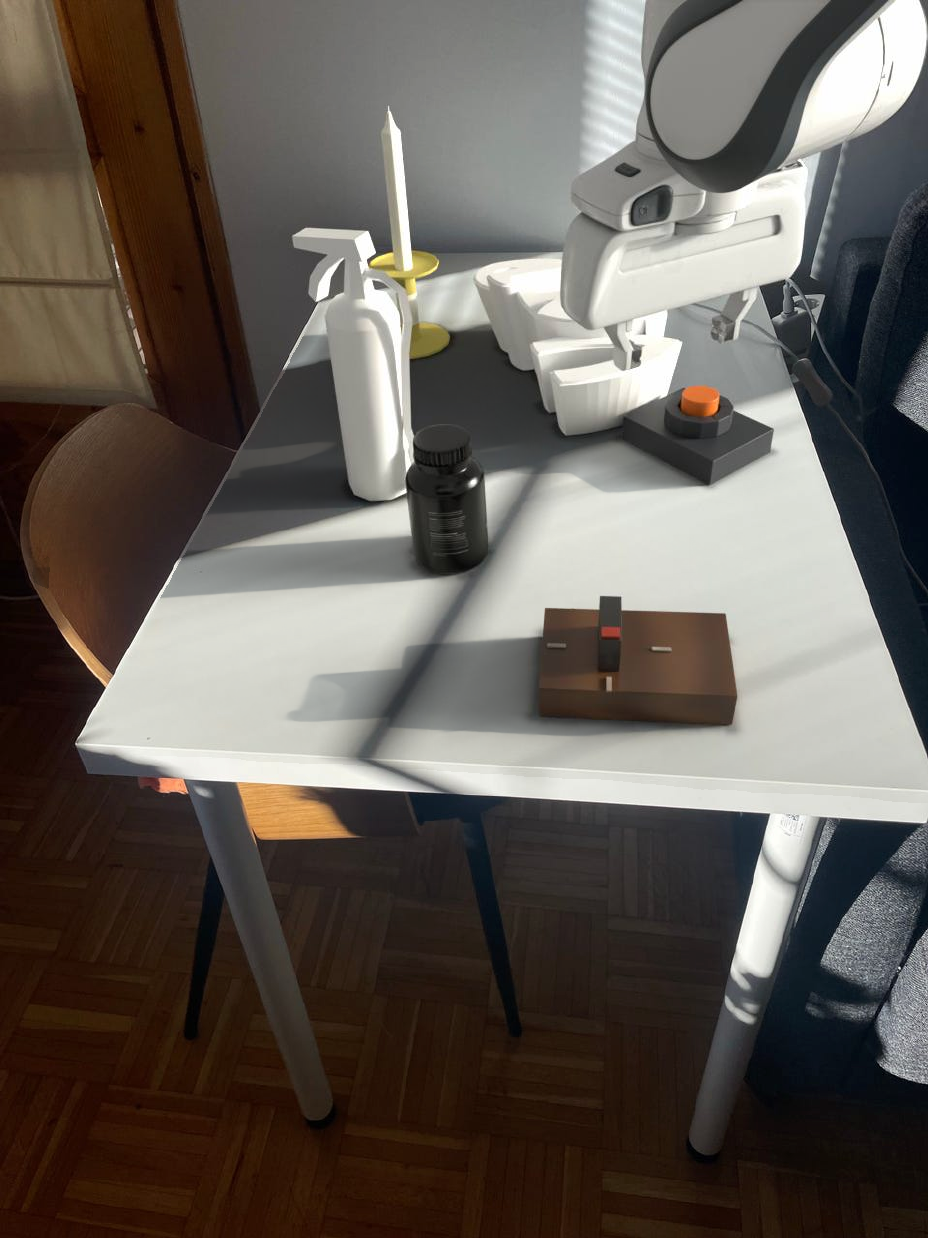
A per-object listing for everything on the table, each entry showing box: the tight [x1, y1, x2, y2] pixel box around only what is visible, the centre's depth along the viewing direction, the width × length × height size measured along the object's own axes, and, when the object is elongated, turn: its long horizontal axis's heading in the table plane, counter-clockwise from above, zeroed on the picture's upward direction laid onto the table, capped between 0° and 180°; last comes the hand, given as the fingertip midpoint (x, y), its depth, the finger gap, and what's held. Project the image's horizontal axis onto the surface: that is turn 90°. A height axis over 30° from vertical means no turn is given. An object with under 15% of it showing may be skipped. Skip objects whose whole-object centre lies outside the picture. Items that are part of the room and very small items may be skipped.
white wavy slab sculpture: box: [472, 258, 683, 437], centre depth 108 cm, size 35×16×11 cm, turn 12°
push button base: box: [621, 387, 775, 486], centre depth 97 cm, size 12×9×4 cm
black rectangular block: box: [598, 595, 623, 671], centre depth 71 cm, size 5×2×3 cm, turn 173°
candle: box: [368, 105, 451, 360], centre depth 112 cm, size 10×10×27 cm
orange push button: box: [681, 385, 720, 417], centre depth 95 cm, size 4×4×2 cm
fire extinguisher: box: [291, 227, 415, 502], centre depth 88 cm, size 7×12×25 cm, turn 58°
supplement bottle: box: [405, 423, 489, 575], centre depth 83 cm, size 7×7×12 cm
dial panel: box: [538, 607, 738, 726], centre depth 73 cm, size 14×9×3 cm, turn 84°
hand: (675, 352), depth 78 cm, fingers open, 8 cm apart
